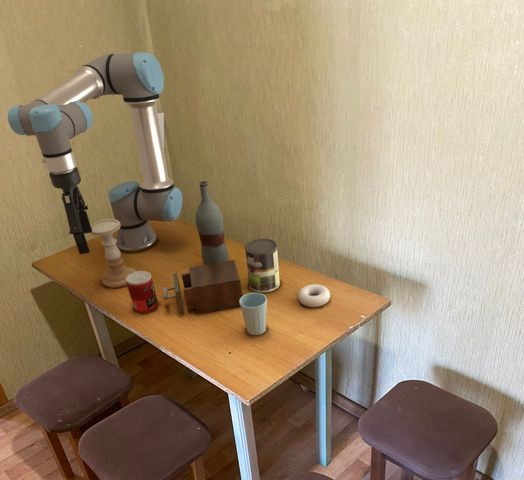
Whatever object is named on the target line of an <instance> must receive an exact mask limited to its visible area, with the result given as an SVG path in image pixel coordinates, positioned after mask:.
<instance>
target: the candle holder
mask: <svg viewBox="0 0 524 480" xmlns="http://www.w3.org/2000/svg"><path fill="white" fill-rule="evenodd" d="M90 225H91V228H92V232H91V233H90V234H91V235H92V236H99V237H101V238H102V241H101V245H102V246H103V247H104V259H106V266H108V267H109V270H108V271H106V272H105V273H104V274H103V275H102V277H101V283H102V285H103V286H105V287H106V288H111V289H118V288H123V287H126V286H127V283H126V277H127V276H128V275H129V274H131V273H133V272H137V270H136V269H135V268H132V267H130V266H126V265H124V258H122V257H121V256H122V251H121V250H119V249H118V246H117V238H115V237H114V233H117V230H119V229H120V227H121V223H120V222H119V221H118V220H115V218H106V219H100V220H98V221H96V222H95V221H94V222H93V223H91V224H90Z"/></svg>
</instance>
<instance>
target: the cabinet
mask: <svg viewBox="0 0 524 480" xmlns="http://www.w3.org/2000/svg"><path fill="white" fill-rule="evenodd" d="M188 270H189V271H188V272H189V273H190V278H191V285H192V290H193V295H194V300H195V305H196V309H195V310H196V314H197V315H198V314H204V313H209V312H210V313H211V312H215V311H221V310H227V309H233V308H238V307H241V306H240V302H239V301H240V298H241V297H242V296H243V291H242V283H241V277H240V275H239V274H240V273H239V271H238V267H237V264H236V261H235V259H231V260H228V261H224V262H218V263H212V264H206V265H204V264H201V265H195V266H189V267H188Z"/></svg>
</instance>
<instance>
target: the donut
mask: <svg viewBox="0 0 524 480" xmlns="http://www.w3.org/2000/svg"><path fill="white" fill-rule="evenodd" d="M330 298H331V293H330V290H329V289H328V287H326V286H324V285H322V284H316V283H315V284H314V283H313V284H308V285H304V286H303V287H302V288H300V289H299V291H298V293H297V299H298V301H299V302H300V304H302V305H303V306H305V307H309V308H316V307H317V308H318V307H321V306H324V305H325V304H327V303H328V302H329V300H330Z"/></svg>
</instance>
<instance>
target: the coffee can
mask: <svg viewBox="0 0 524 480" xmlns="http://www.w3.org/2000/svg"><path fill="white" fill-rule="evenodd" d="M244 252H245V259H246V268H247V276H248V287H249V289H250V290H251V291H253V292H254V293H261V294H263V293H264V294H265V293H270V292H273V291H275V290H277V289H278V288H279V287H280V284H281V281H280V269H279V254H278V242H276V241H275V240H273V239H270V238H255V239H253V240H250V241H248V242H247V243H246V244H245V245H244Z"/></svg>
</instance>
